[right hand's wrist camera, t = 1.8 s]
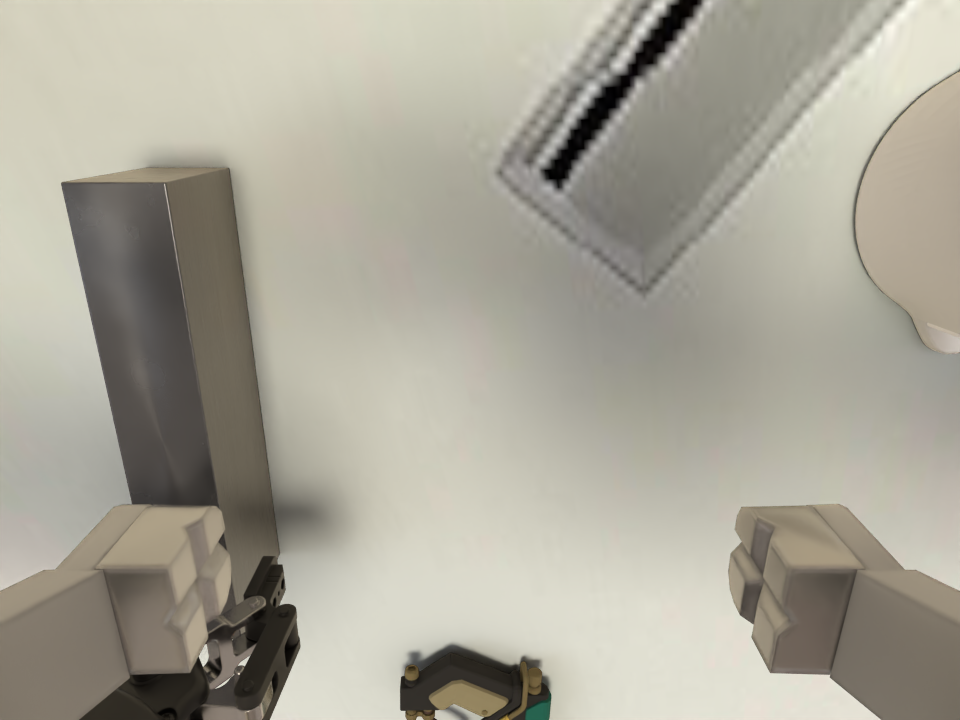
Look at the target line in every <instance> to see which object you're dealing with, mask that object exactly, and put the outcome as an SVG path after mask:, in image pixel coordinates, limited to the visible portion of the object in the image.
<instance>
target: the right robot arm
mask: <svg viewBox="0 0 960 720" xmlns="http://www.w3.org/2000/svg"><path fill="white" fill-rule="evenodd" d="M855 231H856V240H857V245H858V250H859V253H860V256H861V259H862V262H863V264H864V266H865V268H866V270H867V272H868V274H869V276H870V277H871V279H872V280H873V281H874V283H875V284H876V285H877V286H878V287H879V289H880V290H881V291H882V292H883V293H884V294H886V295H887V296H888V297H889V298H891V299H892V300H893V301H895V302H896V303H897V304H899V305H900V306H901V307H903V308H904V309H905V310H906V311H907V312H908V313H909V314H910V315H911V317H912V320H913V322H914V324H915V327H916V329H917V331H918V334H919V336H920V337H921V339H922V341H923V342H924V344H925V345H926V346H927V347H928V348H930V349H932V350H935V351H937V352H940V353H943V354H955V353H960V71H959V72H957V73H956V74H954V75H952V76H951V77H949V78H947V79H946V80H944V81H943V82H941V83H939V84H938V85H936V86H935V87H933V88H932V89H930V90H929V91H928V92H926V93H925V94H924V95H923V96H921V97H920V98H919V99H918V100H917V101H915V102H914V103H913V104H912V105H911V106H910V107H909V108H908V109H907V110H906V111H905V112H904V113H903V114H902V115H901V116H900V117H899V118H898V119H897V121H896V122H895V123H894V124H893V125H892V127H891V128H890V129H889V131H888V132H887V133H886V135H885V136H884V138H883V139H882V140H881V142H880V144H879V145H878V147H877V149H876V150H875V152H874V154H873V156H872V158H871V160H870V162H869V164H868V167H867V169H866V171H865V174H864V177H863V180H862V183H861V186H860V190H859V194H858V199H857V205H856V214H855ZM224 531H225V525H224V521H223V516H222V511H221V510H220V509H218V508H217V507H216V506H196V505H150V504H135V505H119V506H116V507H113V508H112V509H111V510H110V512H109V513H108V514H107V515H106V516H105V517H104V518H103V519H102V520H101V521H100V522H99V523H98V524H97V525H96V527H95V528H94V529H93V530H92V531H91V532H90V533H89V534H88V535H87V536H86V537H85V538H84V539H83V540H82V542H81V543H80V544H79V545H78V546H77V547H76V548H75V549H74V550H73V551H72V552H71V553H70V554H69V555H68V557H67V558H66V559H65V560H64V561H63V562H62V563H61V564H60V565H59V566H58V567H57V568H56V569H55V570H43V571H41V572H39V573H37V574H35V575H33V576H31V577H29V578H26V579H24V580H22V581H20V582H18V583H16V584H14V585H12V586H10V587H8V588H6V589H4V590H2V591H0V720H79V719H80V718H82V717H83V716H84V715H85V714H86V713H88V712H89V711H90V710H91V709H93V708H94V707H95V706H96V705H97V704H99V703H100V702H101V701H102V700H104V699H105V698H106V697H107V696H108V695H110V694H111V693H112V692H113V691H114V690H116V689H117V688H118V687H119V686H121V685H122V684H123V683H124V682H125V681H127V680H128V679H129V678H130V675H136V674H170V673H190V672H191V670H192V668H193V666H194V664H195V662H196V660H197V658H198V656H199V655H200V653H201V651H202V649H203V647H204V645H205V643H206V641H207V639H208V632H207V627H206V624H208V623H209V622H211V621H212V620H214V619H215V618H216V617H218V616H219V615H220V614H221V612H222V610H223V608H224V606H225V604H226V602H227V598H228V594H229V589H230V585H231V561H230V555H229V553H228V552H227V551H226V549H225V548H224V547H223V546H222V545H221V544H220V543H219V542H218V541H219V539H220V538H221V536H222V534H223V533H224ZM735 531H736V533H737V534H738V536H739V538H740V539H741V541H742V542H741V543H740V544H739V545H738V546H737V547H736V548H735V549H734V551H733V552H732V553H731V555H730V562H729V570H728V573H729V584H730V591H731V595H732V598H733V601H734V604H735V606H736V608H737V610H738V612H739V614H740V615H741V616H742V617H744V618H745V619H746V620H748V621H749V622H751V623H752V624H754V627H753V632H752V639H753V641H754V643H755V645H756V647H757V649H758V651H759V653H760V654H761V656H762V658H763V660H764V662H765V664H766V666H767V668H768V670H769V672H770V673H788V674H824V675H830V678H831V679H832V680H834V681H835V682H836V683H837V684H839V685H840V686H841V687H842V688H843V689H845V690H846V691H847V692H848V693H849V694H851V695H852V696H853V697H854V698H856V699H857V700H858V701H859V702H860V703H862V704H863V705H864V706H865V707H866V708H868V709H869V710H870V711H871V712H873V713H874V714H875V715H876V716H877V717H879V718H880V719H881V720H960V591H958V590H956V589H954V588H952V587H950V586H948V585H946V584H944V583H942V582H940V581H938V580H936V579H933V578H931V577H929V576H927V575H925V574H923V573H921V572H919V571H917V570H905V569H904V568H903V567H902V566H901V565H900V564H899V563H898V562H897V561H896V560H895V559H894V558H893V556H892V555H891V554H890V553H889V552H888V551H887V550H886V549H885V548H884V547H883V546H882V545H881V544H880V543H879V541H878V540H877V539H876V538H875V537H874V536H873V535H872V534H871V533H870V532H869V531H868V530H867V529H866V528H865V526H864V525H863V524H862V523H861V522H860V521H859V520H858V519H857V518H856V517H855V516H854V515H853V514H852V513H851V511H850V510H849V509H848V508H846V507H844V506H842V505H840V504H825V505H806V506H762V507H741V509H740V511H739V513H738V515H737V519H736V525H735Z"/></svg>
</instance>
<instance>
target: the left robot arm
mask: <svg viewBox="0 0 960 720" xmlns="http://www.w3.org/2000/svg"><path fill="white" fill-rule="evenodd" d="M285 590H286V588H285V580H284V572H283V566H282V565H278V563H277V557H276V556H263V557H262V559H261V561H260V563H259V565H258V567H257V569H256V571H255V573H254V575H253V577H252V579H251V581H250V583H249V585H248V587H247V589H246V591H245V593H244V595H243V597H244V601H243V602H241V603H239V604H238V605H236V606H235V607H233V608H231V609H230V610H228V611H227V612H225V613H223V614H222V615H219V616H218V617H216V618H215V619H214V620H212V621H211V622H209V623H208V624H206V627H207V632H208V639H207V641H206V643H205V644H207V647H208V653H209V659H208V662H207V663H206V665H205V666H204V667H203V666H202V664H201V661H200V659H199V656H198V658H197V660H196V662H195V664H194V666H193V668H192V670H191V672H190V673H170V674H136V675H130V678H129V679H128V680H127V681H125V682H124V683H123V684H122V685H121V686H119V687H118V688H117V689H116V690H114V691H113V692H112V693H111V694H110V695H108V696H107V697H106V698H105V699H104V700H102V701H101V702H100V703H99V704H97V705H96V706H95V707H94V708H93V709H91V710H90V711H89V712H88V713H86V714H85V715H84V716H83V717H82V718H80V719H79V720H270V718H271V716H272V713H273V711H274V708H275V706H276V704H277V701H278V699H279V697H280V694H281V692H282V690H283V687H284V685H285V682H286V680H287V678H288V675H289V673H290V671H291V668H292V666H293V664H294V661H295V659H296V657H297V654H298V652H299V649H300V638H299V636H298V629H297V620H296V619H297V612H296V607H295V606H294V605H291V604H283V605H280V602H281V600H282V597H283V595H284V593H285ZM279 605H280V606H279ZM243 627H245V632H244V633H242V634H241V635H239V636H238V637H236V638H235V639H233V640H232V637H233V635H234V634H235V633H236V632H237V631H239V630H240V629H242V628H243ZM250 655H251V656H250ZM248 656H250V658H249V660H248V662H247V664H246V665H245V667H244V666H238V664H239V663H240V662H241V661H243V660H244V659H245V658H247V657H248ZM233 674H234V675H233ZM232 675H233V676H232ZM231 676H232V677H231ZM230 677H231V678H230ZM229 678H230V680H229V681H228V682H227V683H226V684H225V685H223V686H222V687H220V688H217V689H215V688H216V687H218V686H219V685H220V684H222V683H223V682H225V681H226V680H227V679H229Z"/></svg>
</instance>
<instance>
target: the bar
mask: <svg viewBox="0 0 960 720" xmlns="http://www.w3.org/2000/svg"><path fill="white" fill-rule="evenodd" d="M61 185H62V190H63V194H64V199H65V203H66V208H67V212H68V217H69V221H70V226H71V230H72V235H73V239H74V244H75V248H76V253H77V257H78V262H79V266H80V271H81V275H82V280H83V284H84V289H85V293H86V298H87V302H88V307H89V311H90V316H91V320H92V325H93V329H94V334H95V338H96V343H97V347H98V352H99V356H100V361H101V365H102V370H103V374H104V379H105V383H106V388H107V392H108V397H109V401H110V406H111V410H112V415H113V420H114V424H115V429H116V433H117V438H118V442H119V447H120V451H121V456H122V460H123V465H124V469H125V474H126V478H127V483H128V487H129V492H130V496H131V501H132V505H135V504H150V505H196V506H216V507H217V508H218V509H220V510H221V511H222V516H223V521H224V525H225V531H224V533H223V534H222V536H221V538H220V539H219V541H218V542H219V543H220V544H221V545H222V546H223V547H224V548H225V549H226V551H227V552H228V553H229V555H230V561H231V585H230V589H229V594H228V598H227V602H226V604H225V606H224V608H223V610H222V612H221V614H220V615H222V614H223V613H225V612H227V611H228V610H230V609H231V608H233V607H235V606H236V605H238V604H239V603H241V602H243V601H244V597H243V595H244V593H245V591H246V589H247V587H248V585H249V583H250V581H251V579H252V577H253V575H254V573H255V571H256V569H257V567H258V565H259V563H260V561H261V559H262V557H263V556H276V557H277V559H278V557H279V546H278V539H277V531H276V524H275V516H274V508H273V501H272V493H271V486H270V478H269V470H268V463H267V455H266V447H265V440H264V432H263V425H262V417H261V409H260V402H259V394H258V387H257V379H256V371H255V364H254V356H253V349H252V341H251V333H250V326H249V318H248V310H247V303H246V295H245V288H244V280H243V272H242V265H241V257H240V250H239V242H238V234H237V227H236V219H235V212H234V204H233V196H232V189H231V181H230V173H229V168H142V169H136V170H130V171H124V172H118V173H112V174H107V175H101V176H95V177H89V178H83V179H77V180H72V181H66V182H62V183H61ZM244 632H245V627H243V628H242V629H240V630H239V631H237V632H236V633H235V634H234V635H233V637H232V639H235V638H236V637H238V636H239V635H241V634H242V633H244Z"/></svg>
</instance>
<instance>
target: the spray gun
mask: <svg viewBox="0 0 960 720" xmlns="http://www.w3.org/2000/svg"><path fill="white" fill-rule="evenodd" d="M541 681H542V671H541V670H540V669H538V668H536V667H533V668H530V669H529V670H528V671H527V666H526V662H521V664H520V673H519V671H517V670H514V671H512V672H511V675H510V674H507V673H505V672H502V671H500V670H497V669H495V668H492V667H489V666H487V665H484V664H482V663H479V662H476V661H473V660H471V659H468V658H465V657H462V656H460V655H457V654H454V653H449V654H447V655H446V656H444V657H442V658H441V659H439V660H438V661H436V662H434V663H433V664H431V665H430V666H428V667H427V668H425V669H423V670H422V671H420V672H419V670H418V667H417V666H416V665H409V666H407V667H406V669H405V676H402V677H401V686H400V710H401V711H406V719H407V720H416V718H417V716H421V717H422V718H423V719H424V720H437V719H435V718H434V717H435V710H444V709H446V708H448V707H449V706H450V705H452V704H456V705H458V706H460V707H462V708H465V709H467V710H469V711H471V712H473V713H475V714H478V715H480V716H483V717H484V718H483V719H482V720H549V717H550V706H551V693H550V691H549V689H548V687H547V686H546V685H545V684H543V683H541Z"/></svg>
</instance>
